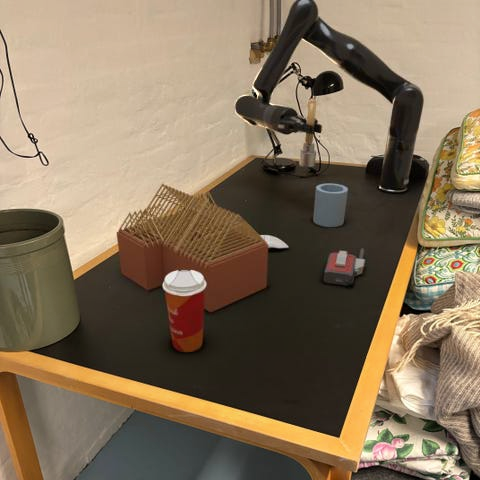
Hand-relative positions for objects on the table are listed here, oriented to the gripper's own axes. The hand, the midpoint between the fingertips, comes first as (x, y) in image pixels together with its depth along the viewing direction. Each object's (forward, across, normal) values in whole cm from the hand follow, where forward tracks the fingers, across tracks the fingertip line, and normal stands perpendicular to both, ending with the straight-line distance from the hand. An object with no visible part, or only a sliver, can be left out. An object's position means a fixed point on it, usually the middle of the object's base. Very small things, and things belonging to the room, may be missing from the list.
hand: (316, 129), depth 140 cm
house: (+19, -50, +25) cm, 59 cm away
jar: (+7, +1, +25) cm, 26 cm away
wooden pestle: (-3, 0, +10) cm, 11 cm away
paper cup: (+41, -64, +25) cm, 80 cm away
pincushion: (+13, -26, +25) cm, 38 cm away
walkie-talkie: (+34, -16, +25) cm, 45 cm away
